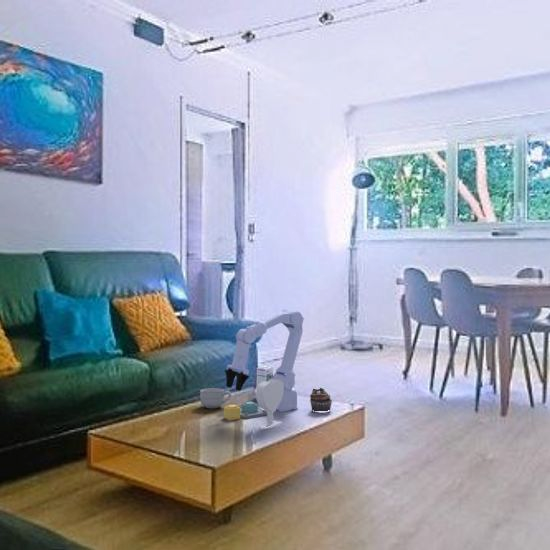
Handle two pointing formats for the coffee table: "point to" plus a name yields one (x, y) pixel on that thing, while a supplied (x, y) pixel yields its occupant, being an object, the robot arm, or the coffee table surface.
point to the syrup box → (264, 374)
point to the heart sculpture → (270, 397)
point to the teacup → (213, 397)
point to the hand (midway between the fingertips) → (233, 388)
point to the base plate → (251, 415)
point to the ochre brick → (232, 412)
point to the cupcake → (320, 400)
